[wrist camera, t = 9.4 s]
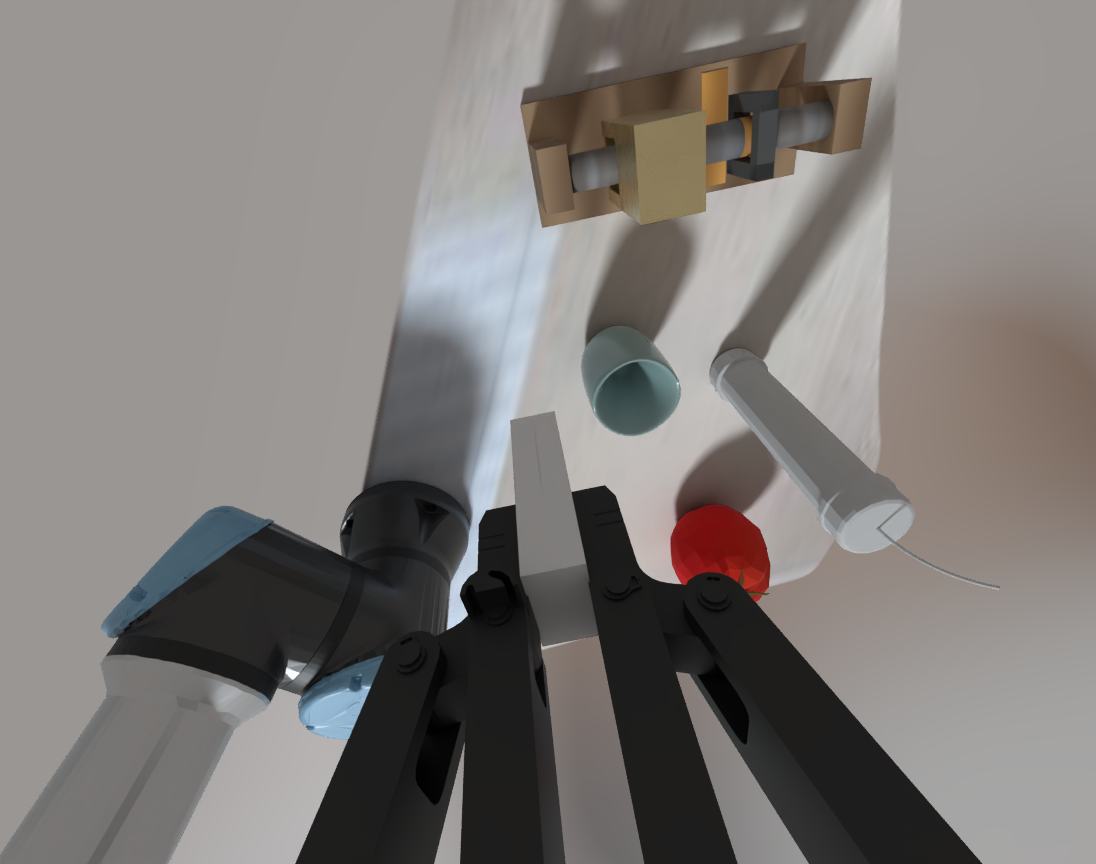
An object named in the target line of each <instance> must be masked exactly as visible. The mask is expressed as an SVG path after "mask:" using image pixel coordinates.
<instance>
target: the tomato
mask: <svg viewBox="0 0 1096 864" xmlns="http://www.w3.org/2000/svg"><path fill="white" fill-rule="evenodd" d="M671 559H672V566H673V568H674V570H675V573H676V575H677V577H678V579H679V580H680V582H681V584H683V585H686V584H687V582H688V580H690V579H691V578H692V577H694V576H695V575H697V574H701V573H705V572H716V573H721V574H724V575H727V576H729V577H731V578H733V579H734V580H735V581H736V582H737V583H739V584H740V585H741V586H742V587H743V588H744V590H745V591H746V592H747V593H748V594H749V595H750V597H751V598H752V599H753V600H754V601H755V602H756V601H758V600H759V599H760V598H761V596H762V595H768V594H769V593H768V594H767V593H764V592H765V591H766V590H767V588H768V587H769V578H770V561H769V557H768V553H767V547H766V544H765V541H764V539H763V536H762V534H761V531H760V529H759V528H758V527H756V526H755V525H754V524H753V523H752V522H751V521H749V520H748V519H747V518H746V517H745V516H744V515H743V514H741V513H740V512H738V511H736V510H734V509H732V508H730V507H728V506H723V505H713V504H708V505H705V506H703V507H700V508H698V509H695V510H693V511H690V512H687V513H686V514H685V515H684V516H683V517H682V518H681V519H680V520H679V521H678V522H677V524H676V526H675V528H674V530H673V533H672V535H671Z"/></svg>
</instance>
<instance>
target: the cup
mask: <svg viewBox="0 0 1096 864" xmlns="http://www.w3.org/2000/svg"><path fill="white" fill-rule="evenodd" d="M581 371H582V379H583V383H584V387H585V390H586V393H587V396H588V399H589V402H590V405H591V407H592V410H593V413H594V414H595V416H596V417H597V419H598V420H599V422H600V423H601V424H602V425H603V426H604V427H606V428H607V429H609V430H610V431H612V432H614V433H617V434H620V435H624V436H636V435H642V434H645V433H647V432H650V431H652V430H654V429H655V428H657V427H658V426H660V425H661V424H663V423H664V422H665V421H666V420H667V419H668V418H669V417H670V416H671V414H672V413H673V412H674V410H675V409H676V407H677V405H678V403H679V399H680V384H679V380H678V378H677V376H676V374H675V372H674V371H673V369H672V367H671V366H670V364H669V363H668V361H667V360H666V359H665V357H664V356H663V354H662V353H661V352H660V351H659V349H658V348H657V347H656V346H655V345H654V343H653V342H652V341H651V340H650V339H649V338H647V337H646V336H645V335H644V334H642V333H641V332H640V331H638V330H636V329H634V328H632V327H628V326H623V325H616V326H611V327H608V328H606V329H604V330H602V331H601V332H599V333H598V334H597V335H595V336H594V337H593V338H592V339H591V341H590V342H589V343H588V345H587V346H586V348H585V350H584V353H583V356H582V362H581Z"/></svg>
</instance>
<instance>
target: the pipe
mask: <svg viewBox="0 0 1096 864" xmlns="http://www.w3.org/2000/svg"><path fill="white" fill-rule="evenodd" d="M710 380H711V383H712V385H713V386H714V387H715V391H716V392H717V393H718V394H719V396H720V397H721V398H722V399H723V400H725V401H727V402H730V403H731V404H732V405H733V407H734V408H735V409H736V410H737V412H738V413H739V414H740V415H741V417H742V418H743V419H744V420H745V422H746V423H747V424H748V425H749V427H750V428H751V429H752V430H753V431H754V433H755V434H756V435H757V436H758V438H759V439H760V440H761V441H762V443H763V444H764V445H765V446H766V448H767V449H768V450H769V451H770V453H771V454H772V455H773V456H774V458H775V459H776V460H777V461H778V462H779V464H780V465H781V466H782V467H783V469H784V470H785V471H786V472H787V474H788V475H789V476H790V477H791V479H792V480H793V481H794V482H795V484H796V485H797V486H798V487H799V489H800V490H801V491H802V492H803V493H804V495H805V496H806V497H807V498H808V500H809V501H810V502H811V503H812V505H813V506H814V507H815V508H816V510H817V520H818V521H819V522H820V524H821V525H822V526H823V527H824V529H825V530H826V531H827V532H828V533H831V534H832V536H833V537H834V538H835V539H836V541H837V542H838V543H839V544H840V546H841V547H842V548H843V549H845V550H848V551H851V552H854V553H869V552H873V551H876V550H879V549H882V548H884V547H886V546H888V545H890V544H894V545H895V546H896V547H898V548H899V549H901V550H902V551H903V552H905V553H906V554H908V555H910V556H911V557H913V558H915V559H916V560H918V561H920V562H922V563H923V564H925V565H927V566H929V567H931V568H933V569H935V570H937V571H939V572H942V573H944V574H947V575H949V576H951V577H954V578H957V579H960V580H963V581H966V582H969V583H973V584H976V585H980V586H984V587H988V588H993V589H998V590H999V589H1000V586H995V585H990V584H986V583H982V582H977V581H974V580H971V579H968V578H964V577H962V576H959V575H956V574H953V573H950V572H948V571H946V570H943V569H940V568H939V567H936V566H934V565H932V564H930V563H928V562H926V561H924V560H923V559H921V558H919V557H917V556H916V555H914V554H912V553H911V552H909V551H908V550H906V549H905V548H903V547H902V546H901V545H899V544H898V543H896V541H897V540H898V539H899V538H900V537H901V536H903V535H904V534H905V533H906V532H907V531H908V529H909V528H910V526H911V524H912V523H913V521H914V514H915V511H914V508H913V507H912V505H911V503H910V501H909V500H908V499H907V498H906V497H905V496H904V495H903V494H902V493H901V492H900V491H899V490H898V489H897V488H896V486H895V484H894V483H893V482H892V481H891V480H890V479H889V478H887V477H885V476H883V475H880V474H878V473H874V472H873V471H871V470H870V469H869V468H868V467H867V466H866V465H865V464H864V463H863V462H862V461H861V460H860V459H859V458H858V457H857V456H856V455H855V454H854V453H853V452H852V451H851V450H850V449H849V448H847V447H846V446H845V445H844V444H843V443H842V442H841V441H840V440H839V439H838V438H837V437H836V436H835V435H834V434H833V433H832V432H831V431H830V430H829V429H828V428H827V427H826V426H825V425H823V424H822V423H821V422H820V421H819V420H818V419H817V418H816V417H815V416H814V415H813V414H812V413H811V412H810V411H809V410H808V409H807V408H806V407H805V406H804V405H803V404H802V403H801V402H799V401H798V400H797V399H796V398H795V397H794V396H793V395H792V394H791V393H790V392H789V391H788V390H787V389H786V388H785V387H784V386H783V385H782V384H781V383H780V382H779V381H778V380H777V379H775V378H774V377H773V376H772V375H771V374H770V373H769V372H768V367H767V366H766V364H765V363H764V361H763V360H762V359H761V358H759V357H757V356H756V355H754V354H753V353H752V352H750V351H748V350H746V349H737V348H734V349H731V350H728V351H726V352H724V353H723V354H721V355H720V356H719V357H717V359H716V360H715V362H714V363H713V364H712V367H711V370H710Z"/></svg>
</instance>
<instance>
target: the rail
mask: <svg viewBox="0 0 1096 864" xmlns="http://www.w3.org/2000/svg"><path fill="white" fill-rule="evenodd" d="M805 47H806V43H803V44H798V45H793V46H789V47H784V48H780V49H775V50H771V51H766V52H761V53H757V54H752V55H748V56H743V57H738V58H734V59H729V60H725V61H720V62H716V63H711V64H706V65H702V66H697V67H693V68H688V69H684V70H679V71H674V72H670V73H665V74H661V75H656V76H652V77H647V78H642V79H638V80H633V81H629V82H624V83H620V84H615V85H610V86H606V87H601V88H597V89H592V90H588V91H583V92H578V93H574V94H569V95H565V96H560V97H556V98H551V99H546V100H542V101H537V102H533V103H528V104H524V105H521V111H522V117H523V122H524V128H525V134H526V139H527V145H528V151H529V156H530V162H531V168H532V173H533V179H534V185H535V190H536V196H537V202H538V207H539V213H540V219H541V224H542V227H543V228H544V227H549V226H554V225H558V224H563V223H568V222H572V221H577V220H582V219H586V218H591V217H596V216H600V215H605V214H610V213H615V212H619V211H622V210H621V209H620V208H618V207H617V206H616V205H615V204H613V203H612V202H611V201H610V200H609V196H608V187H607V186H610V185H615V184H619V180H618V169H617V158H616V146H615V145H613V146H608V147H603V137H602V127H601V121H604V120H609V119H613V118H618V117H622V116H627V115H632V114H636V113H641V112H645V111H650V110H655V109H674V110H706V193H708V192H713V191H718V190H722V189H727V188H732V187H736V186H741V185H746V184H750V183H755V181H751V180H748V179H744V178H741V177H737V176H734V175H730V174H727V160H731V159H736V158H741V157H745V156H749V157H751V139H752V117H753V112H751V113H750V116H747V117H742V118H737V119H733V120H728V95H732V94H736V93H741V92H747V91H765V90H780V93H779V108H778V122H777V136H776V150H775V164H774V178H778V177H783V176H788V175H792V174H794V167H795V156H796V149H797V150H804V151H811V152H818V153H825V154H837V153H841V152H846V151H851V150H855V149H860V148H861V144H862V137H863V131H864V125H865V118H866V112H867V105H868V99H869V93H870V86H871V80H872V78H860V79H847V80H833V81H820V82H806V83H802V80H803V69H804V58H805ZM774 178H772V179H774ZM767 180H769V179H767ZM762 181H764V180H762ZM758 182H760V181H758Z"/></svg>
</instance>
